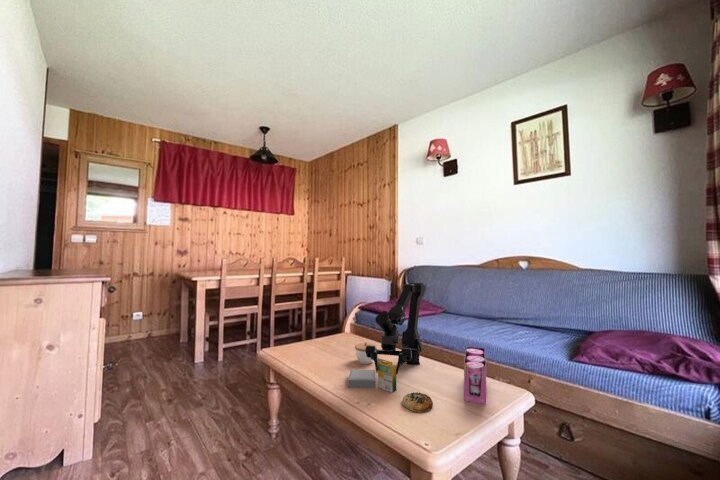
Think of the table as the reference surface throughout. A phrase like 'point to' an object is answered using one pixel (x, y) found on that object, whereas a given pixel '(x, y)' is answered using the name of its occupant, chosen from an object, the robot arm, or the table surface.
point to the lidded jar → (363, 353)
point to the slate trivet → (362, 379)
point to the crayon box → (386, 375)
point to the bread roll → (417, 402)
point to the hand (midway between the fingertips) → (386, 373)
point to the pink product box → (475, 375)
